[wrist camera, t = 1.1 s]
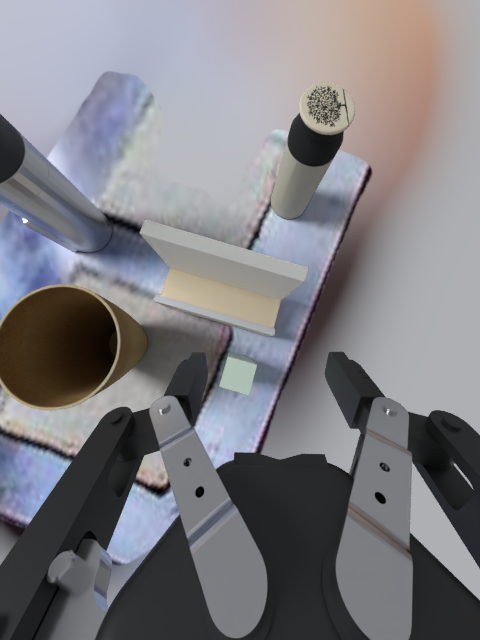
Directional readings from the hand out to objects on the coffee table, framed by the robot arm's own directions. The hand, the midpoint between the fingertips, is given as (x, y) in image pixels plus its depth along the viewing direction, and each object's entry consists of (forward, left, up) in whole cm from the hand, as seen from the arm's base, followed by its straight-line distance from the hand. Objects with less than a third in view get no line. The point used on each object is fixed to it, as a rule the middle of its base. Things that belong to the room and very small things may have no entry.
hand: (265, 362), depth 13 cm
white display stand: (0, +10, -27) cm, 29 cm away
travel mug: (+22, +25, -27) cm, 43 cm away
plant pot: (-21, +10, -27) cm, 36 cm away
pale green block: (-3, -3, -27) cm, 27 cm away
